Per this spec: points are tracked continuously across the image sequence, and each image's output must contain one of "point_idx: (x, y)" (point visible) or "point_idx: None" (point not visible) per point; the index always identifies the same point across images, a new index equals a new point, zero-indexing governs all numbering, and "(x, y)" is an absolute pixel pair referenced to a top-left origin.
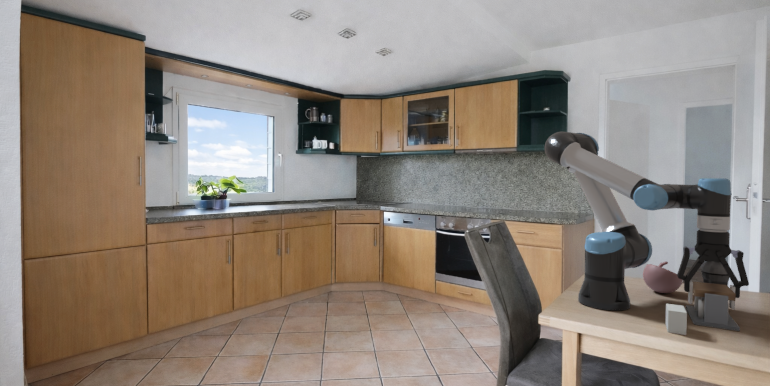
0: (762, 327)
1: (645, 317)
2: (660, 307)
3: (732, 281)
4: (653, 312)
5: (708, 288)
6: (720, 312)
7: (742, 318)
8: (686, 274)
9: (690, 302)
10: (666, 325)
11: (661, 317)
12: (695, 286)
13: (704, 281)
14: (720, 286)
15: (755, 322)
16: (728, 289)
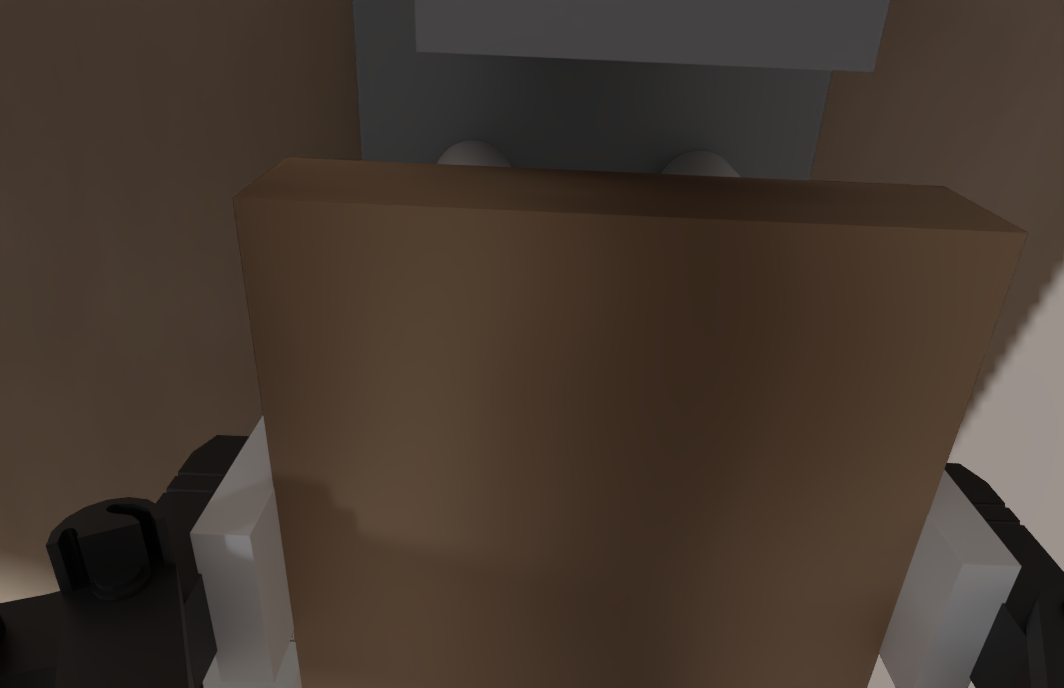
0: (988, 375)
1: (17, 541)
2: (62, 81)
3: (1040, 676)
4: (39, 352)
5: (521, 681)
6: None
7: (952, 113)
8: (61, 682)
9: None
10: None
11: (136, 481)
12: (332, 644)
13: None
14: (800, 451)
15: (1020, 222)
16: (844, 624)
